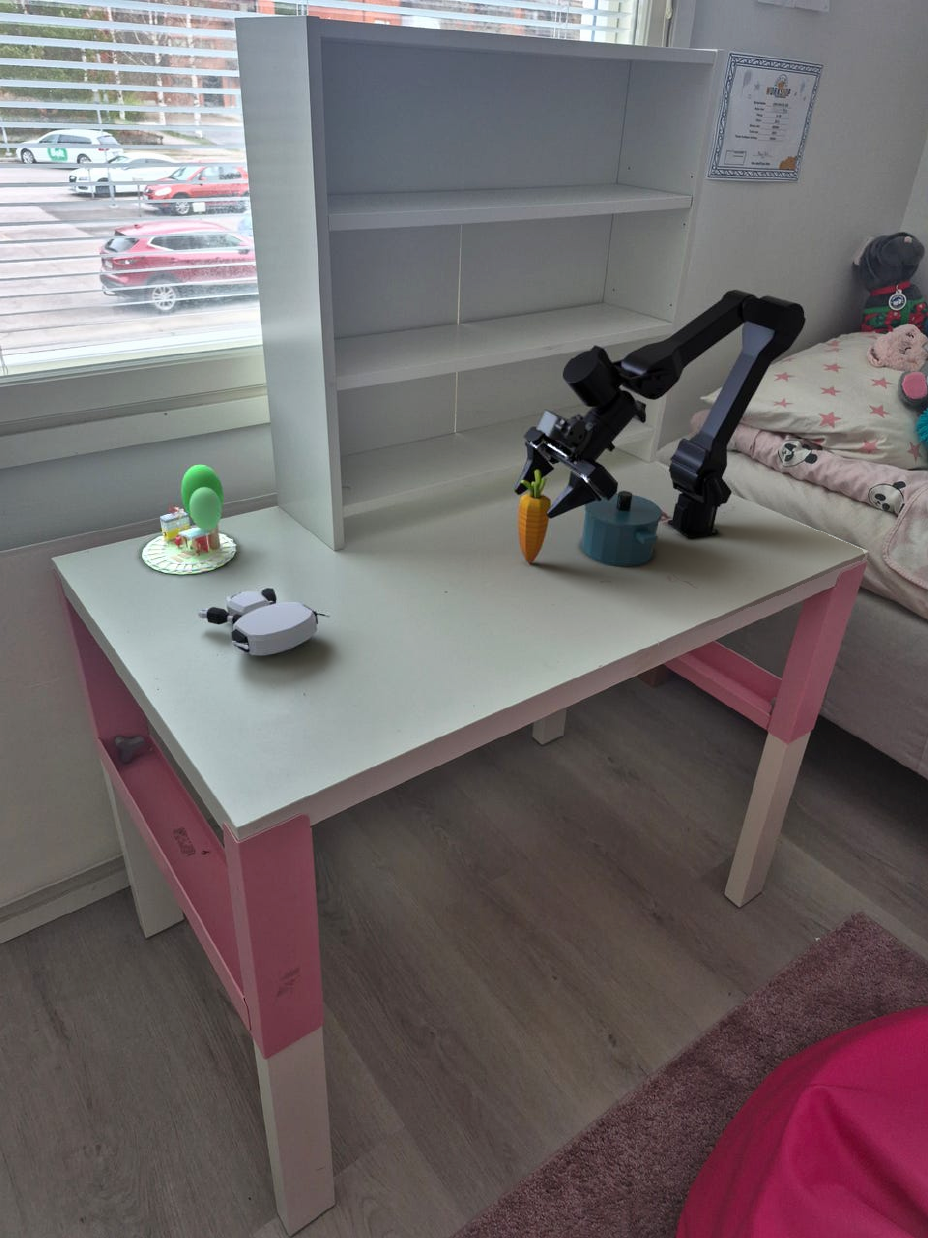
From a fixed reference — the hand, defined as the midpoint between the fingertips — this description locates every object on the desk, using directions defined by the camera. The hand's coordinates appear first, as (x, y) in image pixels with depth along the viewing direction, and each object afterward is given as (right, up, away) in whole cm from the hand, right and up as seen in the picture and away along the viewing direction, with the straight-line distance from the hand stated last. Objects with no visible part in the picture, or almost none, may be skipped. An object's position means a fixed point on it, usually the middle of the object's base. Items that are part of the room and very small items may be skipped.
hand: (531, 504), depth 130 cm
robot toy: (-37, -20, -16) cm, 44 cm away
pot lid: (+15, 0, +7) cm, 17 cm away
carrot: (0, -9, +6) cm, 10 cm away
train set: (-53, -7, +3) cm, 53 cm away
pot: (+15, -6, +11) cm, 19 cm away
